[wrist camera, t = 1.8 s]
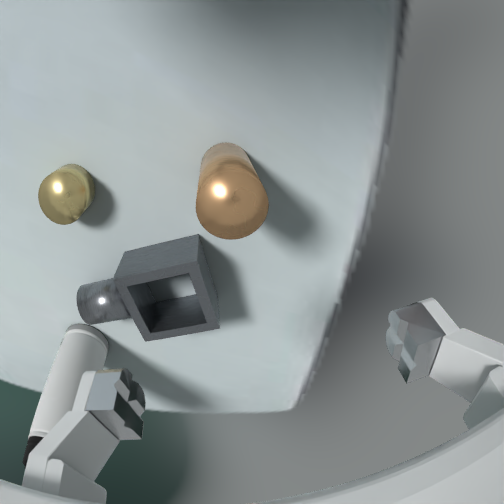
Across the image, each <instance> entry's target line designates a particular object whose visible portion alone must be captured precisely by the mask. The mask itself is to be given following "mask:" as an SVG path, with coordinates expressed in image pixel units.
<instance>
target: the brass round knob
mask: <svg viewBox="0 0 504 504" xmlns="http://www.w3.org/2000/svg"><path fill="white" fill-rule="evenodd" d="M94 194H95V186H94V182H93V179H92V177H91V175H90V174H89V173H88V172H87V170H85V169H84V168H83V167H81V166H79V165H76V164H67V165H64V166H62V167H61V168H59V169H58V170H56V171H54V172H53V173H51V174H50V175H49V176H47V177H46V178H45V179H44V180H43V181H42V183H41V185H40V188H39V193H38V198H39V204H40V207H41V209H42V211H43V213H44V214H45V215H46V216H47V217H48V218H49V219H50V220H51V221H53V222H55V223H57V224H62V225H66V224H71V223H73V222H75V221H76V220H77V219H78V218H79V217H80V216H81V215H82V214H83V212H84V211H85V210H86V209H87V208H88V207H89V206H90V204H91V203H92V201H93V198H94Z"/></svg>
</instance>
